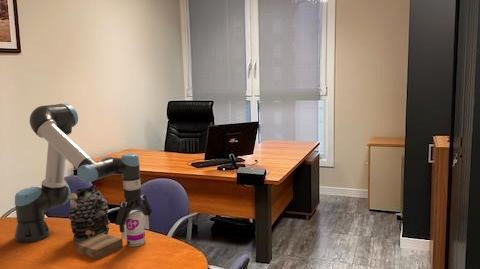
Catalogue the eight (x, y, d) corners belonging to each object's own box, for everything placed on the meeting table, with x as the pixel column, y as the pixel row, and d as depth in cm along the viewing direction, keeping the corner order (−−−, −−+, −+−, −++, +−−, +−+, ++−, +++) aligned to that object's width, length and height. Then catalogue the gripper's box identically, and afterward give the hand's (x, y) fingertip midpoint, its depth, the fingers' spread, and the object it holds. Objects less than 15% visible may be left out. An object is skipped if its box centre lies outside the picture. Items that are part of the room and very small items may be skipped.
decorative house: (89, 247, 190) (84, 193, 187) (63, 243, 196) (58, 191, 192) (117, 231, 210) (114, 182, 206) (93, 227, 215) (89, 180, 211)
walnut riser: (76, 252, 185) (75, 243, 185) (102, 241, 197) (101, 233, 196) (97, 259, 178) (96, 250, 177) (122, 247, 190) (122, 238, 189)
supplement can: (140, 247, 189) (138, 215, 186) (123, 246, 190) (121, 214, 188) (148, 240, 197) (146, 209, 194) (131, 239, 198) (129, 208, 196)
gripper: (116, 196, 177) (120, 244, 180) (157, 182, 198) (160, 226, 201) (104, 194, 181) (108, 241, 184) (146, 181, 202) (149, 223, 205)
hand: (135, 233), depth 193 cm, fingers open, 13 cm apart
